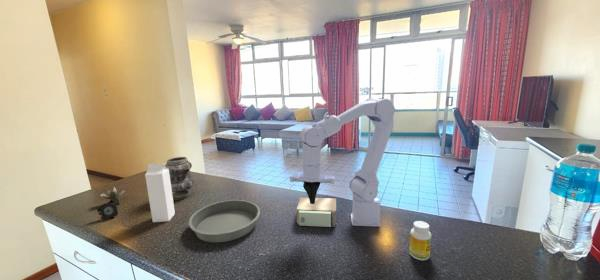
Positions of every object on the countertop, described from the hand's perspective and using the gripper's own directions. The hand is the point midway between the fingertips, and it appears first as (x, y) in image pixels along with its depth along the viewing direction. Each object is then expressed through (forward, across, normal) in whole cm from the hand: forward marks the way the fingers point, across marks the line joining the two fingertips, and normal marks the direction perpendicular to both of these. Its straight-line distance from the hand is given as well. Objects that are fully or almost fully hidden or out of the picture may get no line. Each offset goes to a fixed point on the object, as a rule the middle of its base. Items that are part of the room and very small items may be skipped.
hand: (312, 202), depth 84 cm
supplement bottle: (+11, -32, +7) cm, 34 cm away
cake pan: (+11, +32, +2) cm, 34 cm away
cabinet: (+10, 0, -9) cm, 14 cm away
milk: (+10, +59, +1) cm, 60 cm away
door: (+10, -1, -2) cm, 10 cm away
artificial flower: (+11, +88, -3) cm, 89 cm away
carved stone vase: (+10, +67, -20) cm, 70 cm away
